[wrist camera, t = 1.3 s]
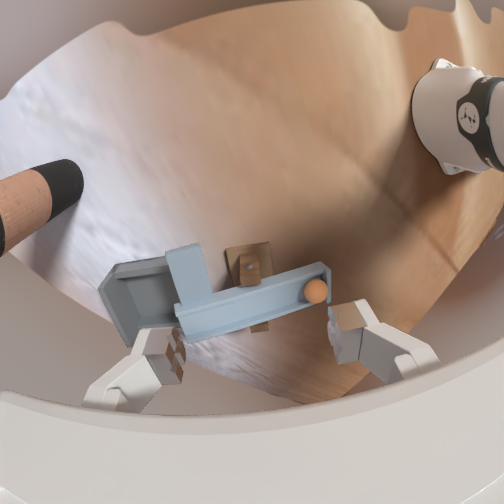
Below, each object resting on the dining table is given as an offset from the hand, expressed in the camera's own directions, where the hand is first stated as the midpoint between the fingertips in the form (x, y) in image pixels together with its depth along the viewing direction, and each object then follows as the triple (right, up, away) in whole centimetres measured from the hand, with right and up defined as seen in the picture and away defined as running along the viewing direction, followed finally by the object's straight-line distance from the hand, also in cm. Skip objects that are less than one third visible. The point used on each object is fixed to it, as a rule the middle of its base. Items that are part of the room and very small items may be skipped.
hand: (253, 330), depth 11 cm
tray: (-14, -3, +31) cm, 34 cm away
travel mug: (-28, +13, +23) cm, 38 cm away
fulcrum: (0, -1, +31) cm, 31 cm away
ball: (+8, -2, +25) cm, 26 cm away
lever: (0, 0, +24) cm, 24 cm away
